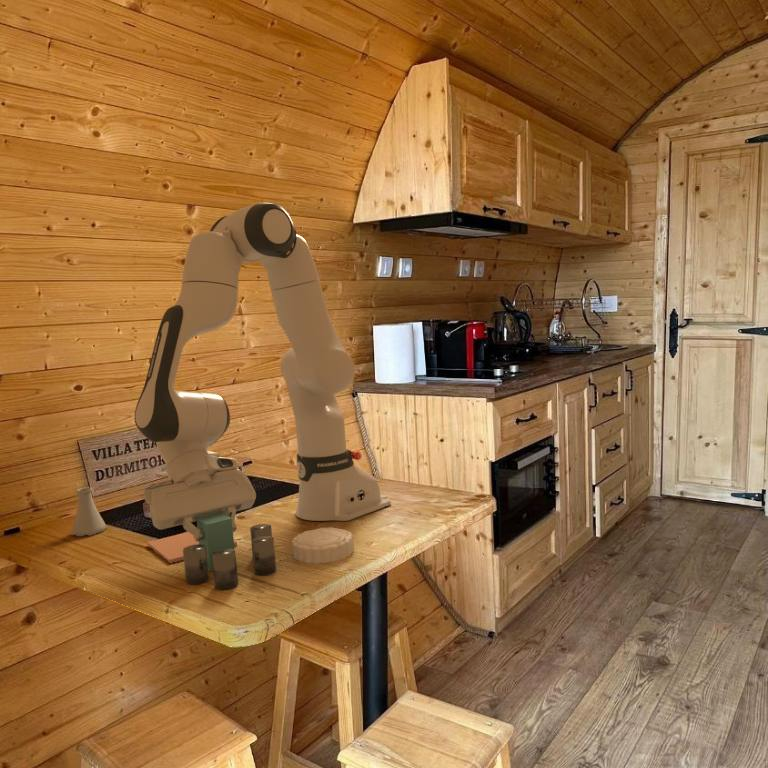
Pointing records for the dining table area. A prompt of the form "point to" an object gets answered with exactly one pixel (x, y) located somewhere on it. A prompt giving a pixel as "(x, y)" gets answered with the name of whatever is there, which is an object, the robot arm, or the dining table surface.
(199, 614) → the dining table surface
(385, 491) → the dining table surface
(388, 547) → the dining table surface
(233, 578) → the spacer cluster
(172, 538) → the tile
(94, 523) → the flask
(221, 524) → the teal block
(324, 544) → the mooncake
